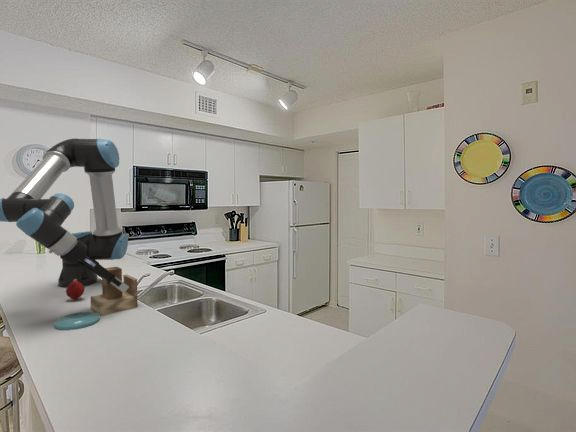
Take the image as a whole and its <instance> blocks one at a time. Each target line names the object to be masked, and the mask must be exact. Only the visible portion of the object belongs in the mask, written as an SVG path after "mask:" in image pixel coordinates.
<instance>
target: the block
mask: <svg viewBox="0 0 576 432" xmlns="http://www.w3.org/2000/svg"><path fill="white" fill-rule="evenodd" d="M104 268H105V269H107V270H108V271H109V272H111V273H112V274H113V275H115V276H116V277H117V278H118V279H120V280H121V281H122V282H123V269H122V268H121V267H119V266H112V267H111V266H110V267H104ZM107 283H108V281H107V280H106V279H104V278H103V277H102V278H101V291H102V292H101V294H102V297H104V298H105V299H107V300H108V299H113V298H118V297H122V292H121V291H120V290H119V289H117V288H116V287H115V286H113V285H112V284H110V283H109V284H107Z"/></svg>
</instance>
